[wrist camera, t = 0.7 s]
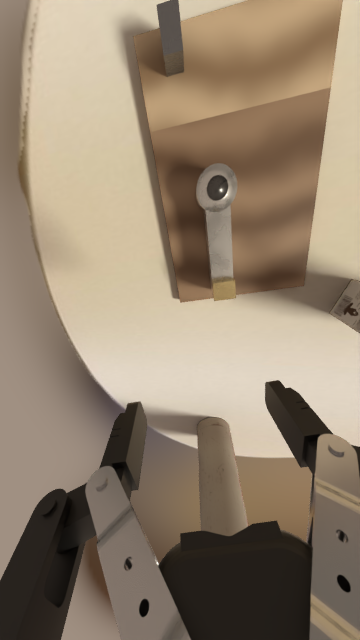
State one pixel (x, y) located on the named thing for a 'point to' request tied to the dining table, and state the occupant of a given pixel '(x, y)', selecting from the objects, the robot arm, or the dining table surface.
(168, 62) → the block
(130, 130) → the dining table surface
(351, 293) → the coffee box
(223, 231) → the latch bar
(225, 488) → the thermos bottle
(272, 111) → the door board
